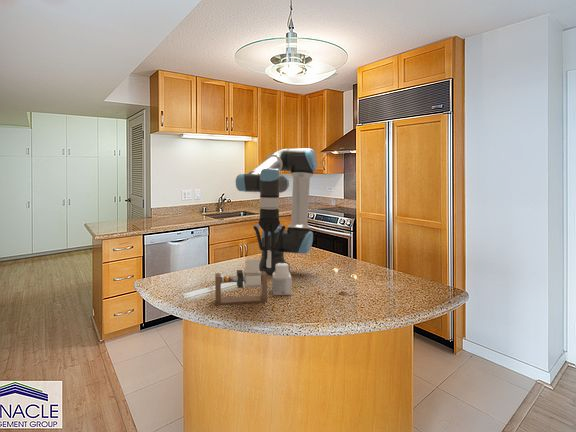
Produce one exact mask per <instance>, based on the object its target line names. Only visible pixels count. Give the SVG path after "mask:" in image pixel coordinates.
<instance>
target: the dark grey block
mask: <svg viewBox="0 0 576 432" xmlns="http://www.w3.org/2000/svg"><path fill="white" fill-rule="evenodd" d="M236 276H238V282H236V286H237V288H238V289H244V282H243V276H244V271H243V269H237V270H236Z"/></svg>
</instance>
